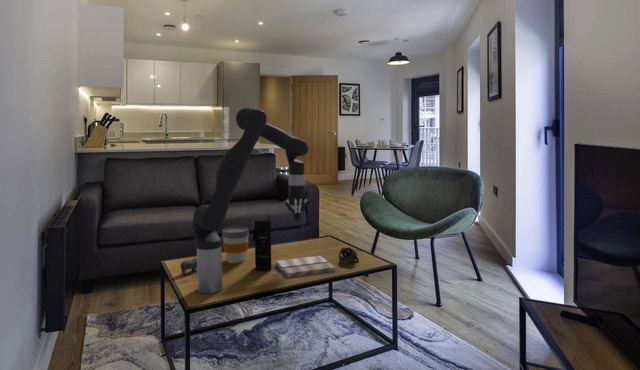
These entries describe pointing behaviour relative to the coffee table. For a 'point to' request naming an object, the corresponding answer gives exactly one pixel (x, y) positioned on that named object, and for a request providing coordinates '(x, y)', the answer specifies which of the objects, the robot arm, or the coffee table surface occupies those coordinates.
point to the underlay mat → (299, 276)
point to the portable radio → (262, 244)
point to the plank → (300, 262)
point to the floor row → (308, 269)
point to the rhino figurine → (189, 265)
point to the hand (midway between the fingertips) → (296, 220)
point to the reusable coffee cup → (235, 243)
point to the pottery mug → (347, 255)
